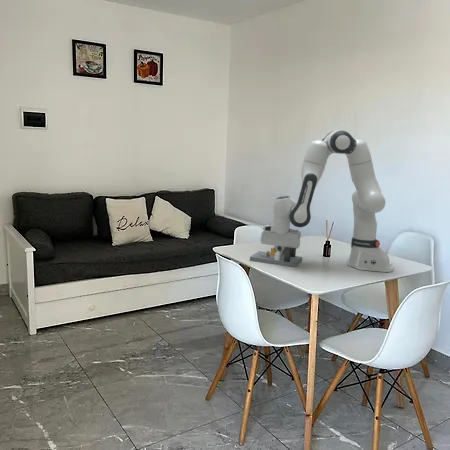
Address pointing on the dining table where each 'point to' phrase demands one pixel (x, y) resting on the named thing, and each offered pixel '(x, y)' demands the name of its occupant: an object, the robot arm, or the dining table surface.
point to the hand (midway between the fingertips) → (279, 254)
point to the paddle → (273, 251)
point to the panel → (271, 260)
